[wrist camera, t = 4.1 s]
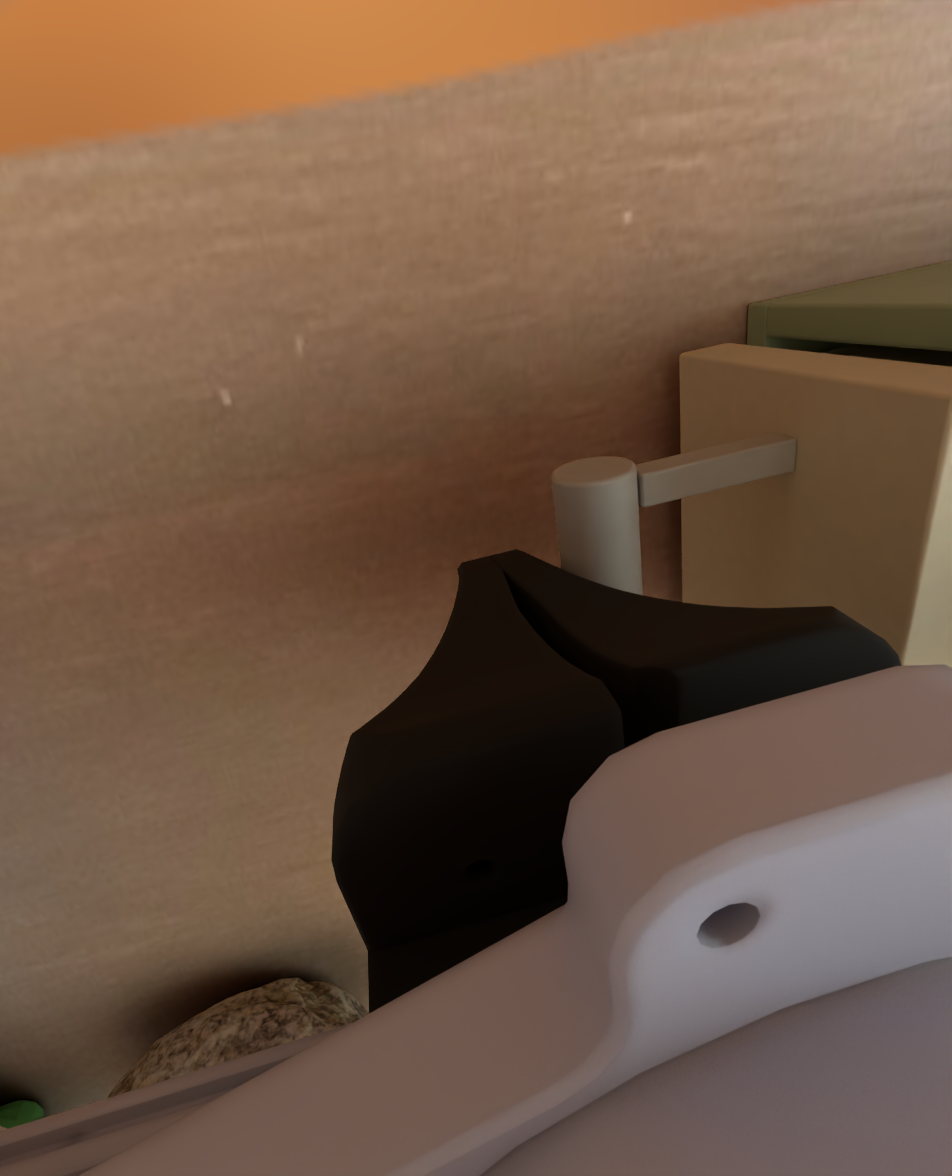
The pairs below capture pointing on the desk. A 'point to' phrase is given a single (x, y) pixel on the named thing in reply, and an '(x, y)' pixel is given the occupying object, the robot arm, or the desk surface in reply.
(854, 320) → the cabinet
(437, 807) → the robot arm
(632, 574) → the drawer
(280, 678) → the desk surface
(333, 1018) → the stone
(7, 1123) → the cup
